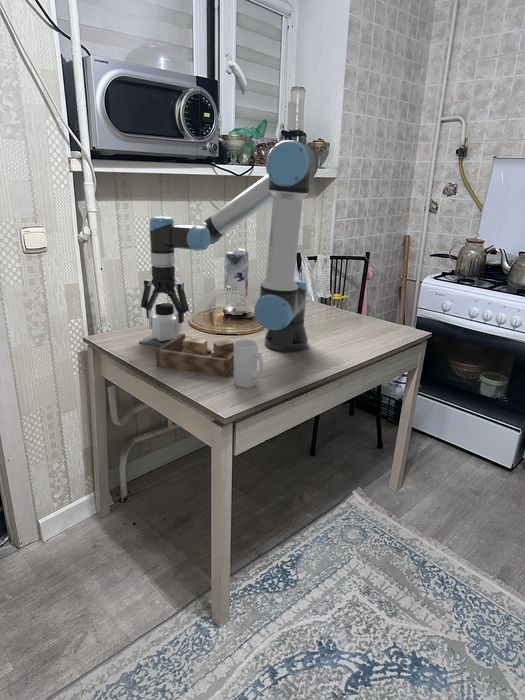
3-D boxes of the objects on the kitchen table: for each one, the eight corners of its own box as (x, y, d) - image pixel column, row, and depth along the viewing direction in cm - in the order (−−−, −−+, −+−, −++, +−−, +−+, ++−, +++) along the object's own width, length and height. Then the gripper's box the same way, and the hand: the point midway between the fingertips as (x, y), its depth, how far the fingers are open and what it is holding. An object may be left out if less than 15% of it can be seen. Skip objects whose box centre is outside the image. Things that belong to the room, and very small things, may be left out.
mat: (191, 338, 170) (191, 336, 169) (175, 348, 159) (175, 347, 159) (156, 333, 173) (156, 331, 173) (138, 343, 162) (138, 341, 162)
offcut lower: (237, 359, 153) (237, 350, 152) (235, 363, 150) (235, 354, 149) (213, 357, 154) (213, 348, 153) (210, 361, 151) (210, 352, 150)
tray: (246, 357, 153) (247, 342, 152) (227, 377, 138) (227, 360, 136) (182, 348, 160) (181, 333, 158) (156, 365, 144) (156, 349, 143)
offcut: (207, 354, 156) (207, 339, 154) (202, 358, 152) (202, 343, 151) (187, 351, 157) (187, 337, 156) (183, 355, 154) (182, 340, 152)
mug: (228, 382, 135) (228, 342, 131) (245, 376, 139) (246, 337, 135) (253, 394, 128) (254, 352, 124) (270, 387, 133) (272, 347, 129)
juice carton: (222, 315, 198) (223, 250, 188) (228, 309, 207) (228, 246, 198) (243, 317, 197) (245, 251, 187) (248, 310, 206) (249, 247, 197)
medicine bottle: (179, 338, 165) (178, 304, 160) (160, 341, 161) (158, 307, 157) (170, 332, 170) (169, 300, 166) (152, 335, 166) (150, 302, 162)
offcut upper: (229, 348, 153) (229, 339, 152) (234, 351, 151) (235, 342, 150) (213, 351, 150) (213, 342, 149) (218, 354, 148) (218, 345, 147)
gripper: (198, 266, 157) (199, 330, 165) (139, 260, 163) (142, 322, 171) (188, 270, 150) (190, 337, 158) (127, 264, 156) (131, 328, 164)
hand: (165, 329), depth 165 cm, fingers closed on medicine bottle, 10 cm apart
